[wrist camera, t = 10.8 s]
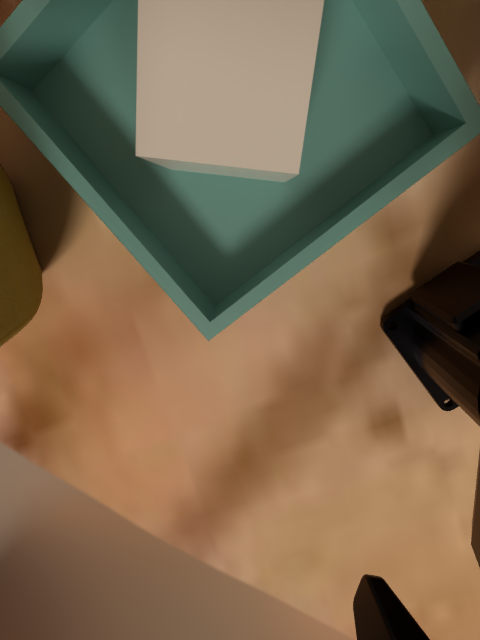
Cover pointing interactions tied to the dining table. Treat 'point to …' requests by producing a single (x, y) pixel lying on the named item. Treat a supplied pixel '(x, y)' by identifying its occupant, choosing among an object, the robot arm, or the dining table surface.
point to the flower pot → (16, 267)
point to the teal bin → (227, 191)
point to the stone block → (225, 84)
